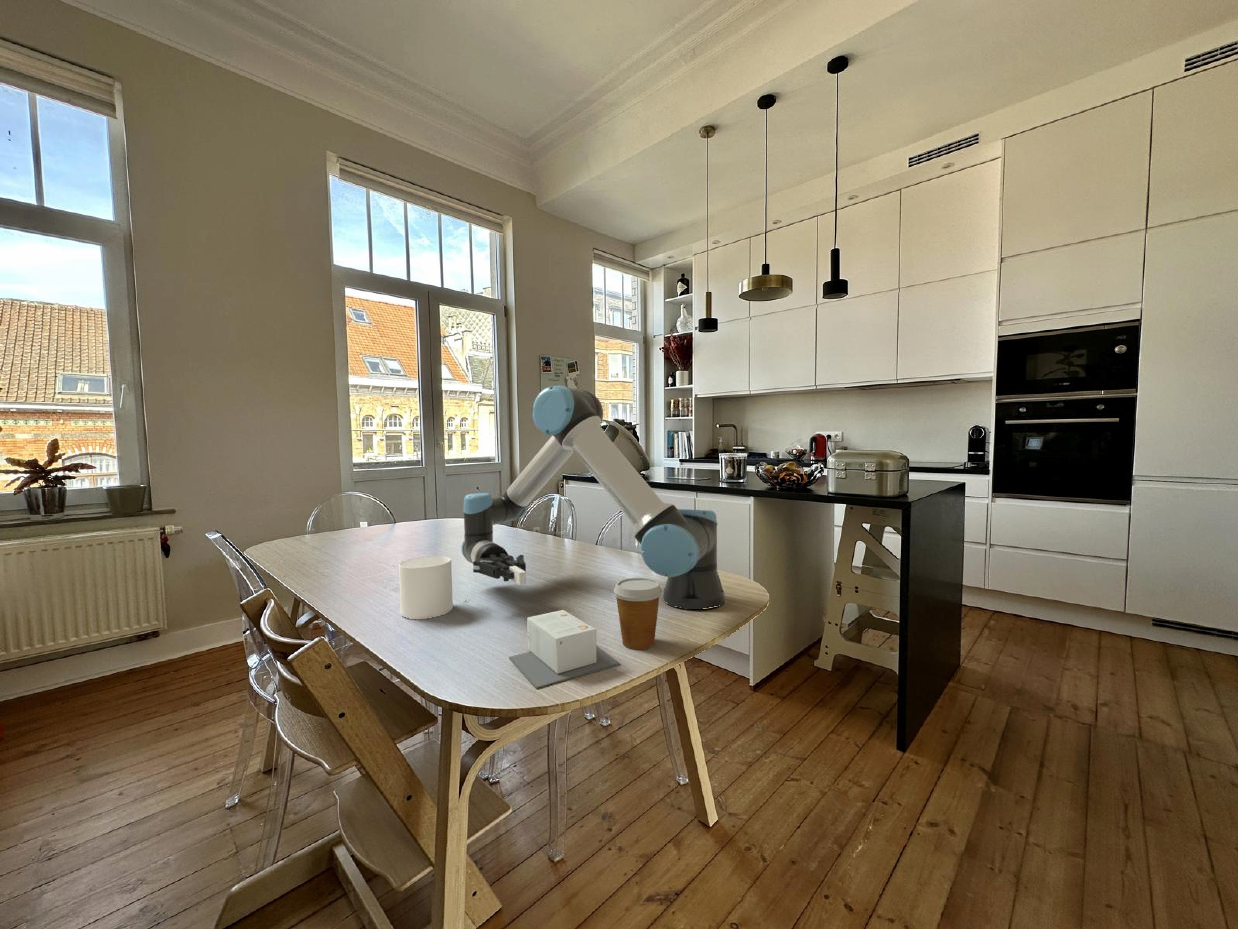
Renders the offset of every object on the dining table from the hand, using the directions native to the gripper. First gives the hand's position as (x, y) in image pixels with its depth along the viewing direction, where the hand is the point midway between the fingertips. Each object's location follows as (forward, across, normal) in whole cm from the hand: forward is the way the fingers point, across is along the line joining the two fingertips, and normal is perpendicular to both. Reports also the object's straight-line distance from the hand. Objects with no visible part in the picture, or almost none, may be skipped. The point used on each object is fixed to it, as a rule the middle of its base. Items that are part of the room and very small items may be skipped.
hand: (522, 578), depth 106 cm
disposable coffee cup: (+21, -16, -11) cm, 29 cm away
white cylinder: (-23, +16, -11) cm, 30 cm away
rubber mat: (+20, 0, -11) cm, 23 cm away
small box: (+12, 0, -7) cm, 14 cm away
